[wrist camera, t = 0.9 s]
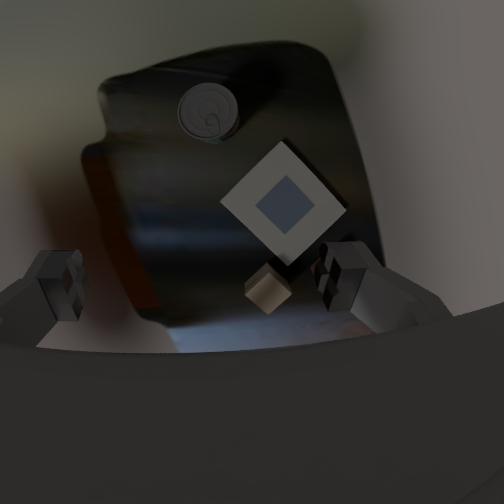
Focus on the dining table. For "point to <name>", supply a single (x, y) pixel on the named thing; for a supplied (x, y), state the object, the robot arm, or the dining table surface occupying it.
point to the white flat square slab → (283, 203)
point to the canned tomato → (209, 113)
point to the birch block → (267, 288)
